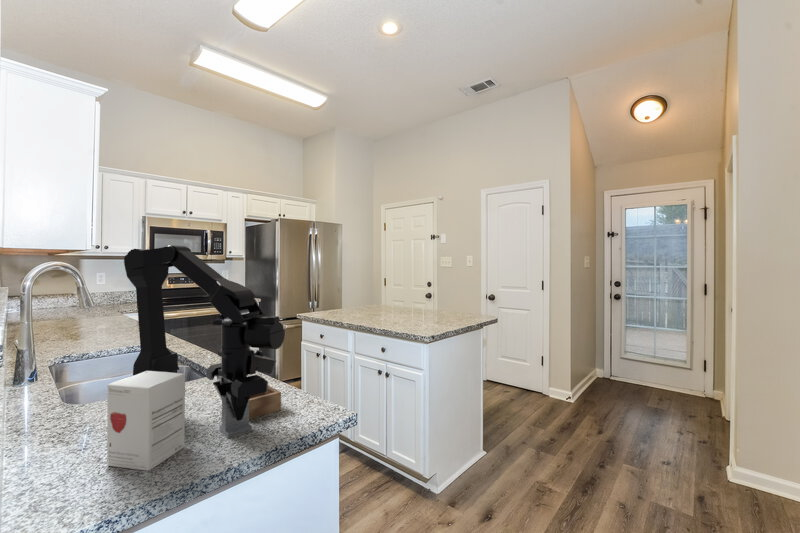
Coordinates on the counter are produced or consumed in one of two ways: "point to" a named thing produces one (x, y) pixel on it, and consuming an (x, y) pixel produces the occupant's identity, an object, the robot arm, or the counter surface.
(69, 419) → the counter surface
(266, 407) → the square frame
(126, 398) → the supplement box
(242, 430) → the bracket
